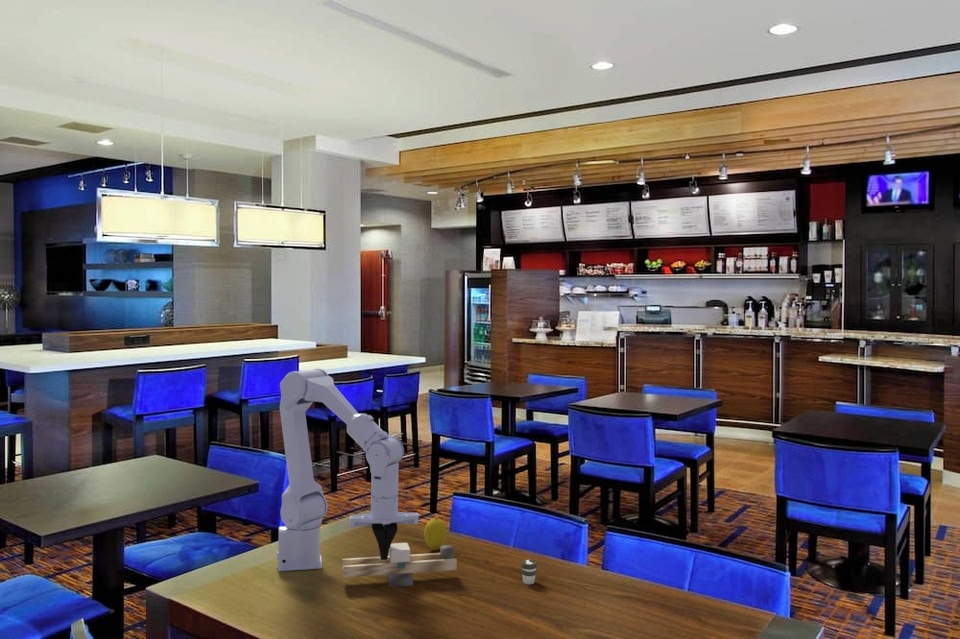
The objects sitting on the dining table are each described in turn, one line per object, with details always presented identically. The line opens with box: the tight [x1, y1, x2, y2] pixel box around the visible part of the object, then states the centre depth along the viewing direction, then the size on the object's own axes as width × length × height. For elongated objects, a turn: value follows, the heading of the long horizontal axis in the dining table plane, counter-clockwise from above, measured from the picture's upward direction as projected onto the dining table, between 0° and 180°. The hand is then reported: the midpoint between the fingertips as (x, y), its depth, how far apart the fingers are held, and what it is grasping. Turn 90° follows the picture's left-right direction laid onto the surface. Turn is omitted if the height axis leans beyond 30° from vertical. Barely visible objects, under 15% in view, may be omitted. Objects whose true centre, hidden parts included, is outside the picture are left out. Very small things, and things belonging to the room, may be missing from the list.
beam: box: [341, 544, 458, 588], centre depth 160 cm, size 24×6×7 cm, turn 103°
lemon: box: [423, 516, 448, 551], centre depth 180 cm, size 6×6×8 cm
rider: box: [388, 542, 411, 563], centre depth 160 cm, size 4×5×4 cm
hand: (383, 558), depth 159 cm, fingers closed
